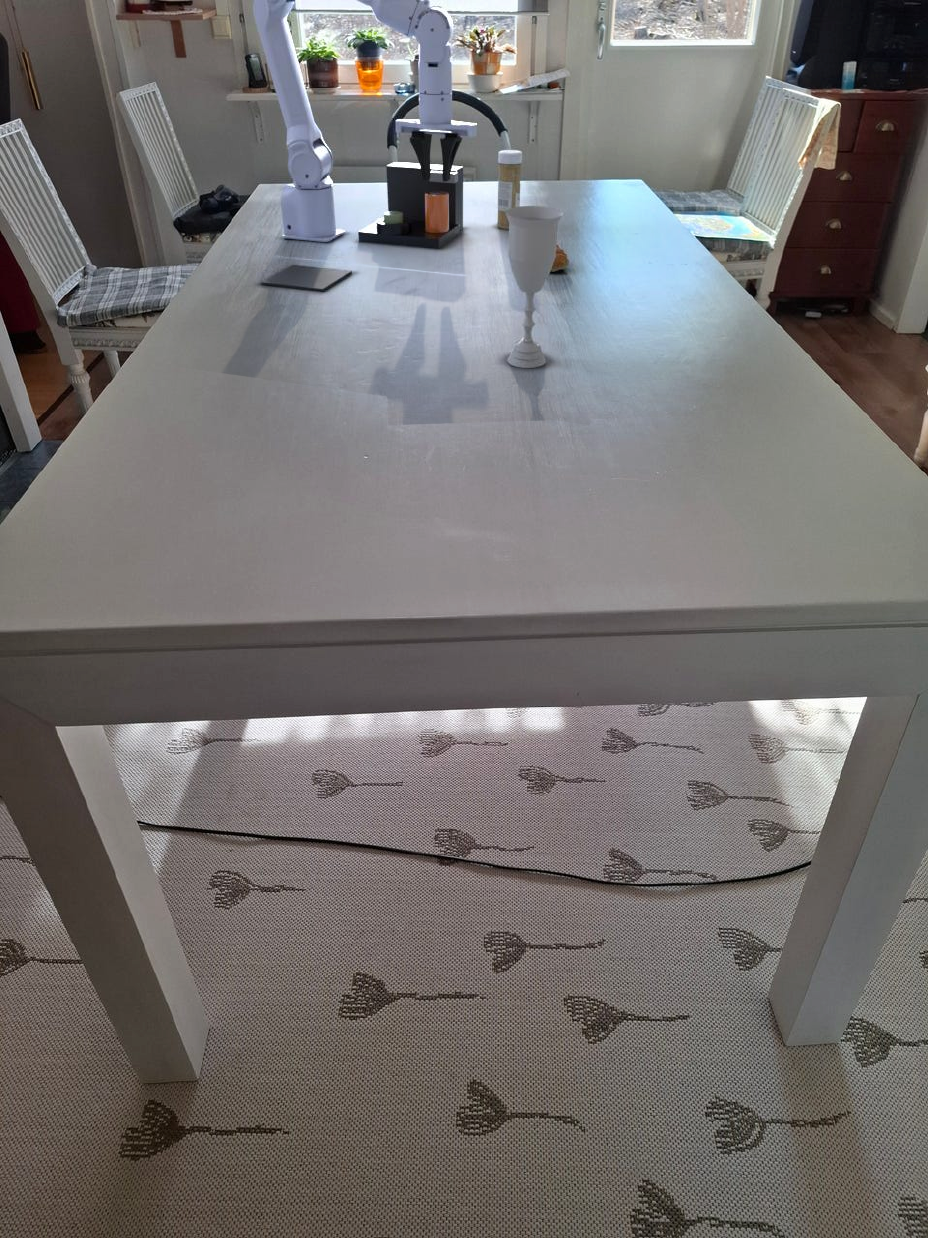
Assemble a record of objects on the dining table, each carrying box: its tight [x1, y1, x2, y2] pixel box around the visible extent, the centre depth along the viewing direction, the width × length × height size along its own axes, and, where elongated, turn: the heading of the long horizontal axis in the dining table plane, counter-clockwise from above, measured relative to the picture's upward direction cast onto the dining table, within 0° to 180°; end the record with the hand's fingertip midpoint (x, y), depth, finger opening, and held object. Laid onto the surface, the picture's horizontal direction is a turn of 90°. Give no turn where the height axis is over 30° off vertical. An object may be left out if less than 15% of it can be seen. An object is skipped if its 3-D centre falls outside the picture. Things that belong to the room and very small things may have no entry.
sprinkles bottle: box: [496, 149, 523, 230], centre depth 169 cm, size 5×5×13 cm
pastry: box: [550, 243, 570, 273], centre depth 149 cm, size 9×7×4 cm
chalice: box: [506, 205, 563, 369], centre depth 108 cm, size 7×7×18 cm
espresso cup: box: [425, 191, 449, 233], centre depth 161 cm, size 4×4×6 cm
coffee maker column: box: [385, 161, 464, 231], centre depth 168 cm, size 14×6×11 cm, turn 71°
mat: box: [260, 264, 353, 293], centre depth 143 cm, size 11×11×1 cm
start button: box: [383, 211, 403, 224], centre depth 161 cm, size 4×4×2 cm
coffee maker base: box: [357, 217, 461, 250], centre depth 164 cm, size 16×12×4 cm
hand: (436, 179), depth 158 cm, fingers open, 3 cm apart
